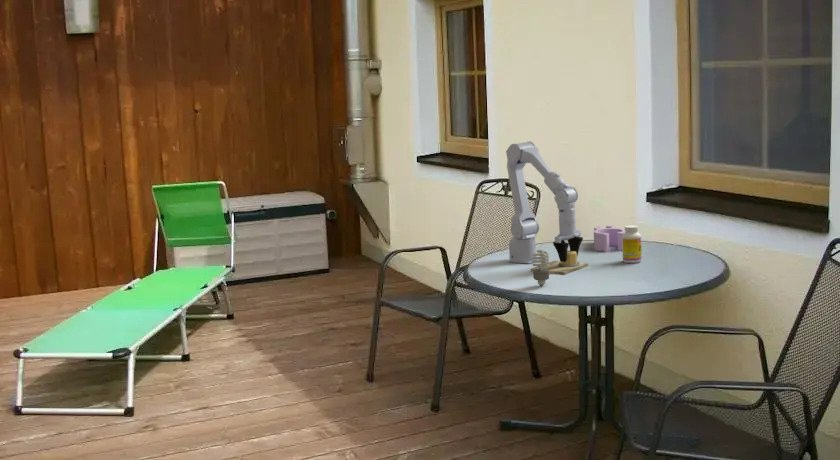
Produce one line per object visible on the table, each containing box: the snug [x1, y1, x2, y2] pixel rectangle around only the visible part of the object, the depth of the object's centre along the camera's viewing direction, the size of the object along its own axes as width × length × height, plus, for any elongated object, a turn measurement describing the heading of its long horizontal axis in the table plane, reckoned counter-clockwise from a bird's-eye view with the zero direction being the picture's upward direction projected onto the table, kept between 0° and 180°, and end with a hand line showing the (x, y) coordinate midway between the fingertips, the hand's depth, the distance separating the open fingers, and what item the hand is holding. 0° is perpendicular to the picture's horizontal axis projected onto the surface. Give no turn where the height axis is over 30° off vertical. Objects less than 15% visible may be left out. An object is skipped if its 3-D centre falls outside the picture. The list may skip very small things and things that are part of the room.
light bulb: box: [531, 249, 550, 287], centre depth 316 cm, size 6×6×12 cm
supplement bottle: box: [622, 224, 643, 264], centre depth 345 cm, size 7×7×13 cm
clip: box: [593, 225, 625, 253], centre depth 376 cm, size 20×12×7 cm, turn 2°
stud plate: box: [530, 260, 589, 275], centre depth 342 cm, size 14×16×3 cm
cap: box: [561, 250, 578, 265], centre depth 343 cm, size 5×5×4 cm
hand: (568, 259), depth 343 cm, fingers open, 7 cm apart
